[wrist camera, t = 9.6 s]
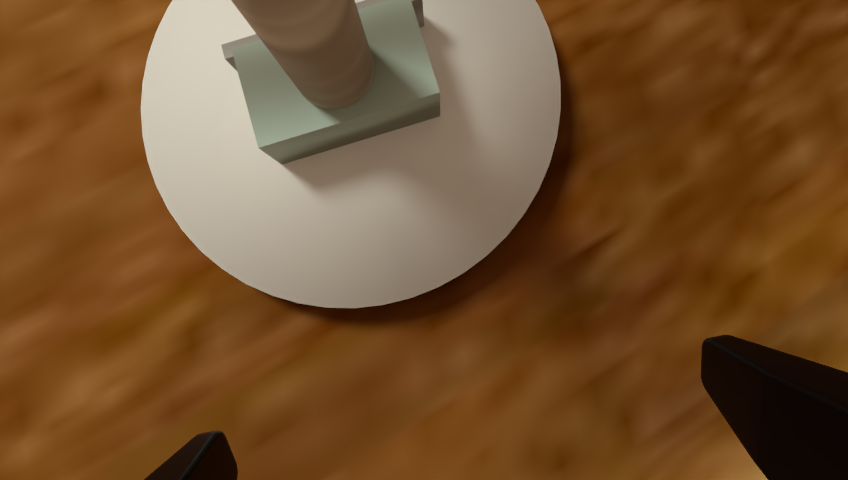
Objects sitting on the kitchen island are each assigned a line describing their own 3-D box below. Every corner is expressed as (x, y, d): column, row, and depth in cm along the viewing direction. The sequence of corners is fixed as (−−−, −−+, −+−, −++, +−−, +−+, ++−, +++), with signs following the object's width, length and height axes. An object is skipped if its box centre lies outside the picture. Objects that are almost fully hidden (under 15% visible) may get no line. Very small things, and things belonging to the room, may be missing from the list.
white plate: (567, 296, 20) (576, 297, 19) (161, 315, 21) (139, 318, 19) (538, -90, 22) (545, -118, 20) (162, -62, 22) (142, -87, 21)
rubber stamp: (451, 112, 20) (465, -125, 8) (270, 168, 20) (29, 11, 8) (420, 13, 20) (391, -346, 8) (243, 68, 20) (-23, -215, 9)
